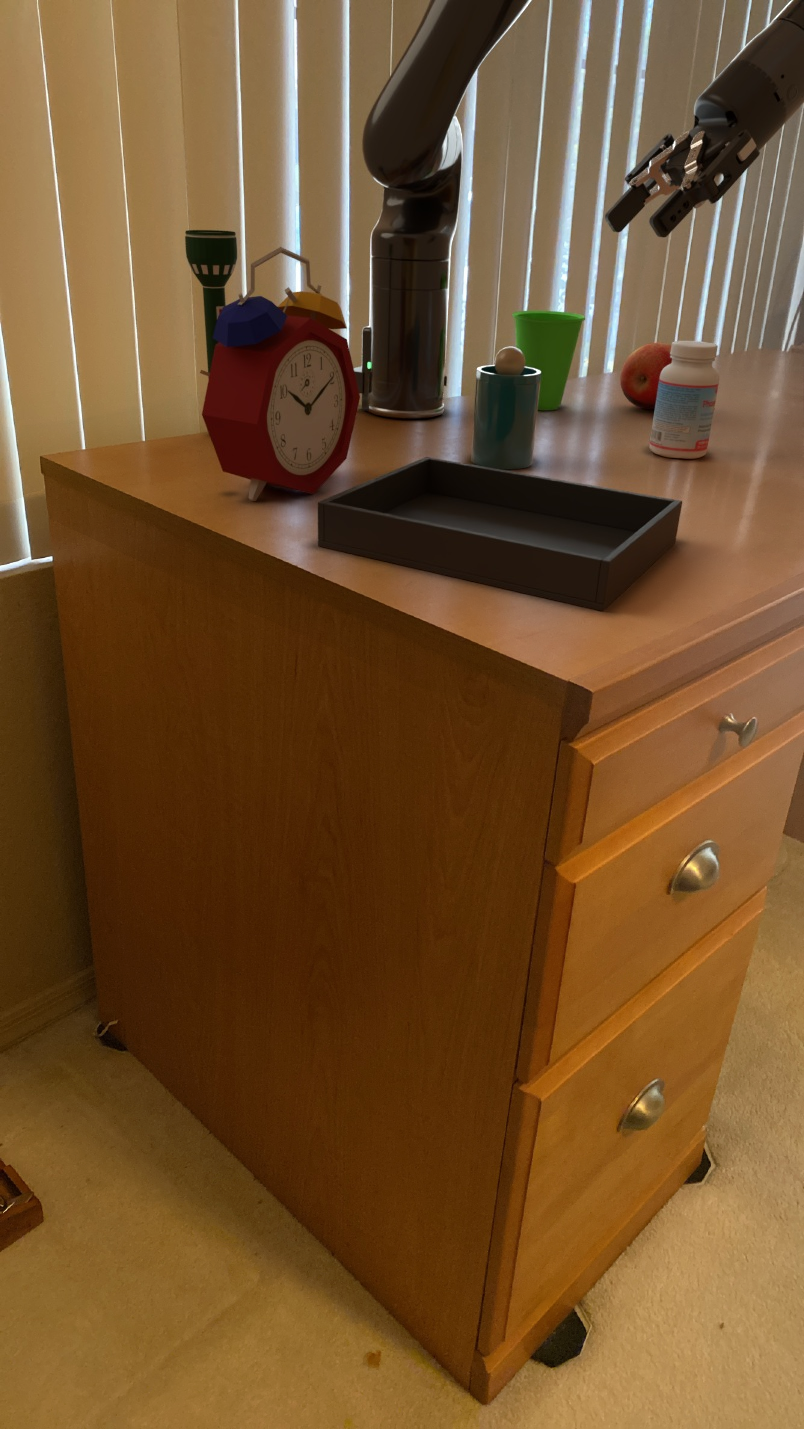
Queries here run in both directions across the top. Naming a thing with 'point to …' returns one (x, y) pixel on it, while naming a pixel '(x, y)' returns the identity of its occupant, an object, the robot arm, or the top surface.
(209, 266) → the flashlight
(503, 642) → the top surface
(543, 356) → the cup
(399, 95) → the robot arm
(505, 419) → the pour cup
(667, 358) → the apple
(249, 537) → the top surface
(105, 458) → the top surface
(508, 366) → the ball
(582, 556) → the tray
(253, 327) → the alarm clock
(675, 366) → the pill bottle
